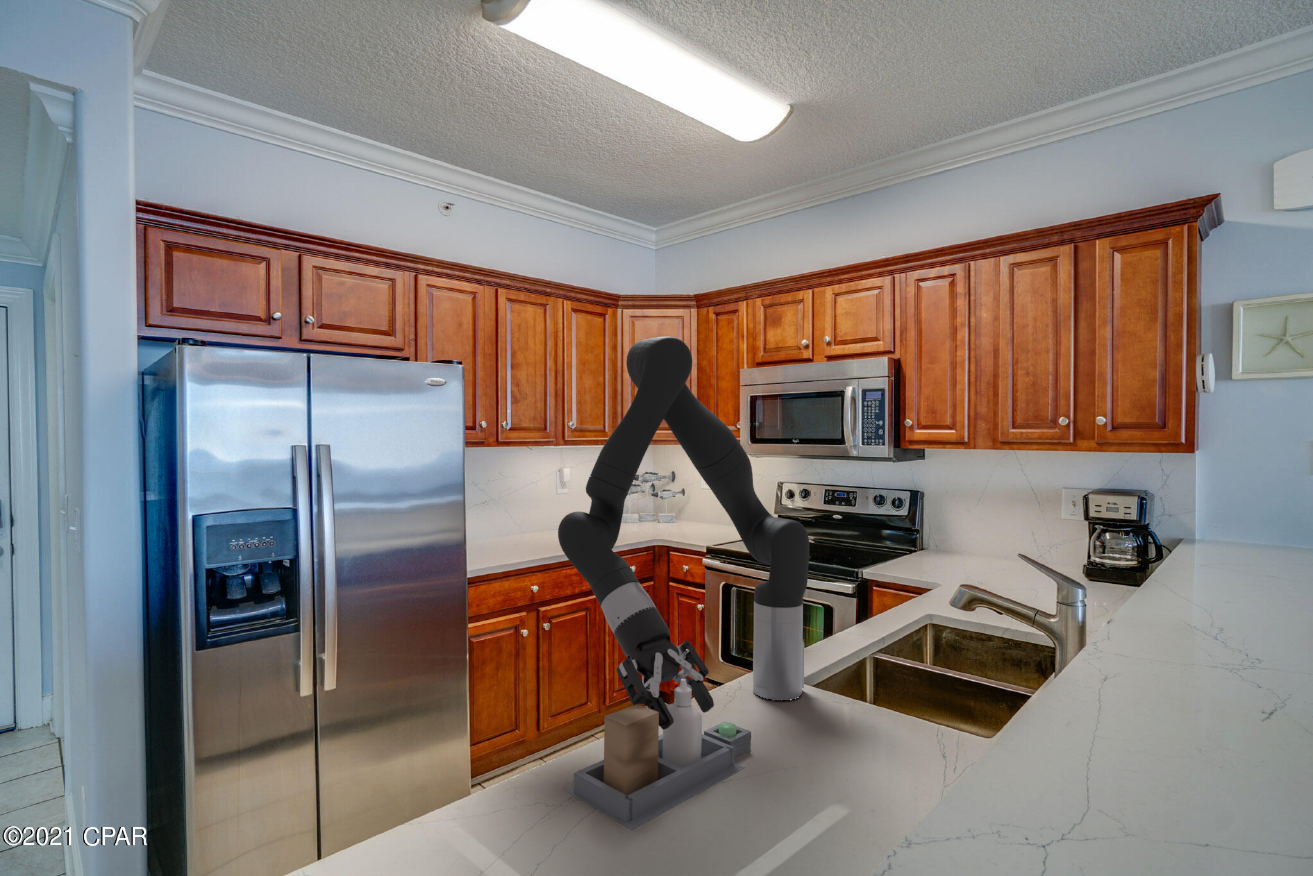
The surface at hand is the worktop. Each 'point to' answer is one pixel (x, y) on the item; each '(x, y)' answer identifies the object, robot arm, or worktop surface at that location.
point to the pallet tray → (656, 784)
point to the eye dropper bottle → (683, 730)
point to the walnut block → (631, 749)
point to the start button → (727, 729)
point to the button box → (733, 739)
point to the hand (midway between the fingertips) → (689, 717)
